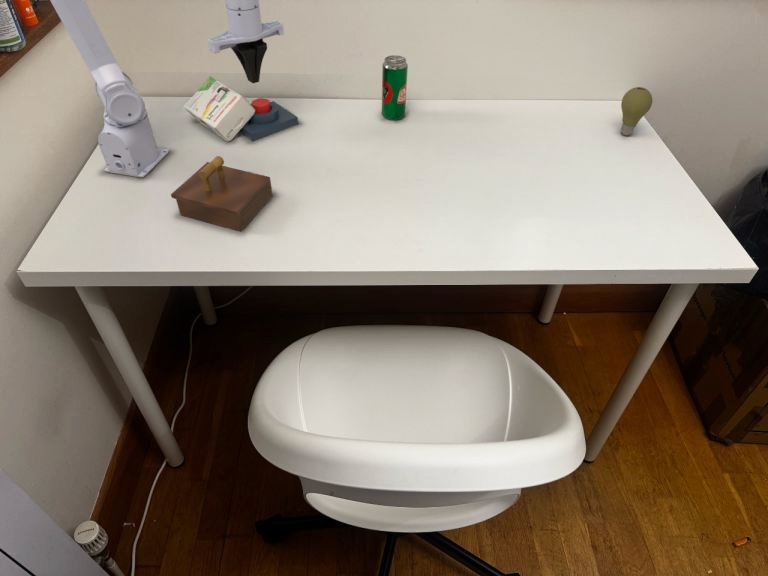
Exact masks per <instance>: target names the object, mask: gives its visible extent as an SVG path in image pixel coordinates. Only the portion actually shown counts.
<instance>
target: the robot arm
mask: <svg viewBox="0 0 768 576" xmlns="http://www.w3.org/2000/svg"><path fill="white" fill-rule="evenodd" d="M49 1H50V3H51V5H52V7H53V8H54V10H55V12H56V14H57V16H58V18H59V19H60V20H61V22H62V24H63V27H65V29H66V31H67V33H68V35H69V36H70V39H71V40H72V42H73V44H74V45H75V47H76V49H77V50H78V53H79V54H80V56H81V58H82V60H83V61H84V63H85V64H86V67H87V69H88V70H89V72H90V74H91V76H92V77H93V80H94V90H95V93H96V94H97V95H96V96H98V98H99V99H100V101H101V103H102V105H103V107H104V111H103V114H102V118H103V120H104V125H103V128H102V130H101V132H100V133H99V135H98V137H97V143H98V146H99V148H100V151H101V154H102V157H103V160H104V162H105V164H106V166H105V168H104V172H106V173H111V174H118V175H123V176H130V177H135V178H141V179H142V178H145V177H146V176H147V175H148V174H149V173H150V172H151V171H152V170H153V169H154V168H156V166H157V165H158V164H159V163H160V162H161V161H162V160H163V159H164V158H165V157H166V156H167V155H168V154H169V153H170V150H169V149H168V148H163V147H158V145H157V141H156V138H155V134H154V131H153V128H152V123H151V121H150V117H149V114H148V111H147V108H146V104H145V101H144V99H143V96H141V94H140V93H139V92H138V91H137V89H136V87H135V86H134V83H133V80H132V79H131V78H130V76H129V75H128V74H127V73H125V72H124V71H122V69H121V68H120V65H119V63H118V62H117V61H116V58H115V57H114V55H113V53H112V50H111V49H110V47H109V45H108V43H107V41H106V39H105V37H104V35H103V33H102V31H101V29H100V27H99V25H98V24H97V21H96V20H95V17H94V16H93V14H92V12H91V10H90V8H89V6H88V4H87V2H86V0H49ZM224 3H225V9H226V14H227V21H228V27H229V29H228V30H226V31H224V32H223V33H220V34H218V35H216V36H214V37H211V38H208V39H207V43H208V48H209V51H210V52H212V53H213V54H219V53H221V51H224V50H227V49H231V50H232V52H233V53H234V54H235V56H236V58H237V59H238V61H239V62H240V64H241V66H242V68H243V71H244V73H245V76H246V79H247V81H248V82H249V83H251V84H256V83H259V82H260V77H261V76H260V75H261V69H262V63H263V59H264V57H265V55H266V52H267V50H268V43H267V42H265V41H264V39H267V38H270V37H275V36H283V35H285V32H284V24H283V23H282V22H280V21H278V20H275V21H270V22H263V23H262V16H261V10H260V9H261V8H260V1H259V0H224Z"/></svg>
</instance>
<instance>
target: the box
mask: <svg viewBox="0 0 768 576" xmlns="http://www.w3.org/2000/svg"><path fill="white" fill-rule="evenodd" d="M250 104H251V106H252V102H251V103H250ZM270 107H271V111H270V112H267V113H260V114H259V113H254V115H253V116H252V117H251V118H250V119H249V120H248V122H246V124H245V125H244V126H243V127H242V128H241V129H240V130H239V132H238V133H240V134H242V135H243V136H245V137H246V138H247V139H248V140H250V141H251V142H255V141H257V140H260V139H263V138H265V137H268V136H270V135H274V134H276V133H279V132H281V131H283V130H287V129H289V128H292V127H295V126H297V125H299V118H298V116H297V115H296V114H294V113H293V112H291V111H289V110H288V109H287V108H285V107H283V106H282V105H280V104H279V103H277V102H276V101H274V100H273V101H270Z"/></svg>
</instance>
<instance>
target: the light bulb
mask: <svg viewBox="0 0 768 576" xmlns="http://www.w3.org/2000/svg"><path fill="white" fill-rule="evenodd" d="M652 95H653V94H652V93H651V92H650V91H649V89H647V88H646V87H642V86H636V87H632V88H630V89H629V90H627V91H626V92H625V93H624V95H623V96H622V99H621V104H620V108H621V113H622V125H621V127H620V133H622V136H625V137H627V136H630V135H632V134H633V133H634V131H635V127H636V126H637V125H638V124H639V122H640V121H641V119H642V118H644V116H645V115H646V114H647V113H648V112H649V111H650V110H651V108H652V106H653V96H652Z"/></svg>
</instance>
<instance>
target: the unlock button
mask: <svg viewBox="0 0 768 576" xmlns="http://www.w3.org/2000/svg"><path fill="white" fill-rule="evenodd" d="M270 102H271V100H270V99H268V98H265V97H261V98H260V97H259V98H256V99H253V100H252V101H251V103H252V107H253V108H254V109H255V112H254V113H259V114H260V113H267V112H270V111H271V107H270Z"/></svg>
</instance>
